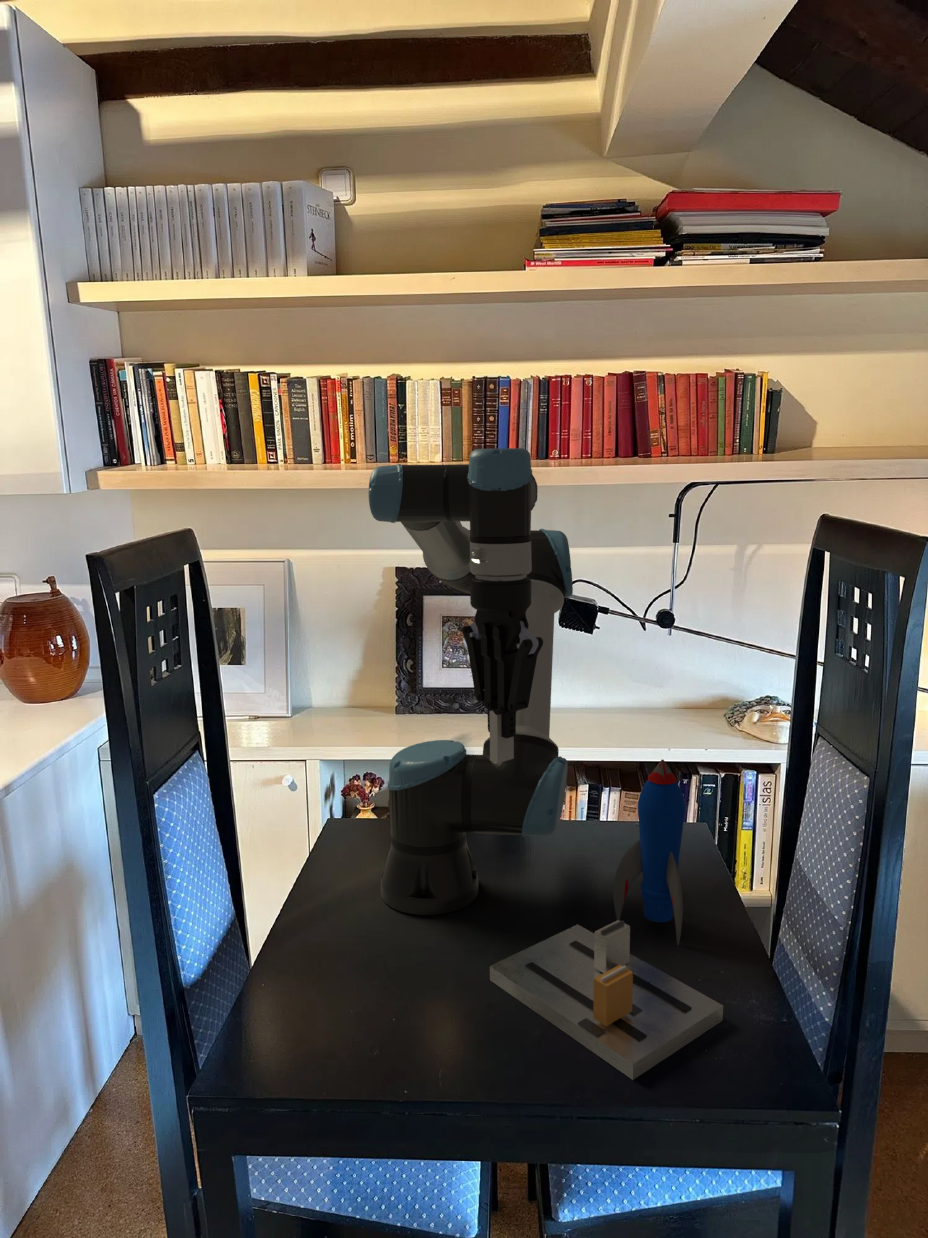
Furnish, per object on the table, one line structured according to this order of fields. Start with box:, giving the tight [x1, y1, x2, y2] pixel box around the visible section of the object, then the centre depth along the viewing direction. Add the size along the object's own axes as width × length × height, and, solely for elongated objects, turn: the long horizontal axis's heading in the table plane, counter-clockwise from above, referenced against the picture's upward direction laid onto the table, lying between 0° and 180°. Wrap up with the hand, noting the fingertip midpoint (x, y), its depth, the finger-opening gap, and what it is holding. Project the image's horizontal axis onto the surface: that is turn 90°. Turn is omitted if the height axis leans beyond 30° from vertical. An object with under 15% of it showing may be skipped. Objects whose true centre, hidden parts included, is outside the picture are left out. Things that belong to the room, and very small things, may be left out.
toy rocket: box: [612, 759, 686, 946], centre depth 125 cm, size 11×10×25 cm
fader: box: [593, 965, 633, 1026], centre depth 102 cm, size 2×4×5 cm, turn 128°
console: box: [489, 919, 724, 1081], centre depth 109 cm, size 24×16×8 cm, turn 38°
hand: (501, 759), depth 113 cm, fingers closed
